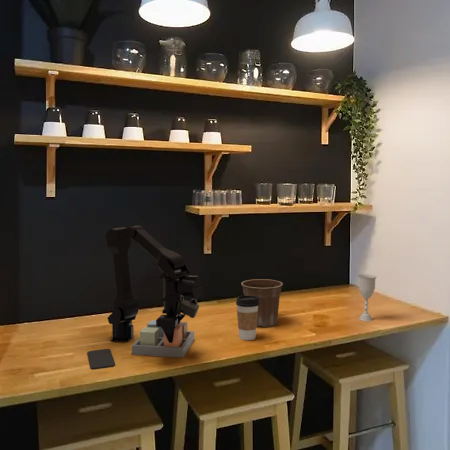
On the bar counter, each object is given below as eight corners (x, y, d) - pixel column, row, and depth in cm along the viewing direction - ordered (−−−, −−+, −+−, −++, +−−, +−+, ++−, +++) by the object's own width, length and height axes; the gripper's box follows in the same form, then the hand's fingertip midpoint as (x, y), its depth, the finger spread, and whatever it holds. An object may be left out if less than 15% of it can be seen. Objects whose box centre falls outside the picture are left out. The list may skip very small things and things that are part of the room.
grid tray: (132, 354, 149) (131, 333, 148) (148, 337, 166) (147, 318, 165) (183, 357, 147) (183, 336, 146) (194, 339, 163) (194, 320, 163)
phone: (109, 348, 153) (116, 364, 140) (110, 350, 154) (116, 367, 140) (86, 351, 151) (90, 368, 137) (86, 353, 151) (90, 371, 137)
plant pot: (232, 323, 183) (232, 283, 181) (258, 314, 194) (258, 276, 193) (265, 332, 172) (265, 289, 170) (290, 322, 183) (290, 282, 182)
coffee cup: (252, 343, 160) (252, 300, 158) (231, 338, 164) (231, 297, 163) (263, 336, 167) (263, 295, 166) (242, 332, 172) (243, 292, 170)
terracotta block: (163, 346, 149) (163, 328, 149) (167, 341, 154) (167, 324, 154) (178, 347, 149) (178, 329, 148) (182, 342, 154) (182, 324, 153)
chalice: (355, 320, 186) (357, 276, 184) (357, 316, 192) (358, 273, 191) (374, 322, 183) (376, 278, 182) (375, 318, 190) (377, 275, 188)
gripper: (190, 302, 139) (190, 351, 141) (202, 287, 158) (202, 331, 159) (155, 300, 141) (155, 349, 143) (170, 286, 159) (171, 330, 161)
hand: (172, 339), depth 151 cm, fingers closed on terracotta block, 5 cm apart
